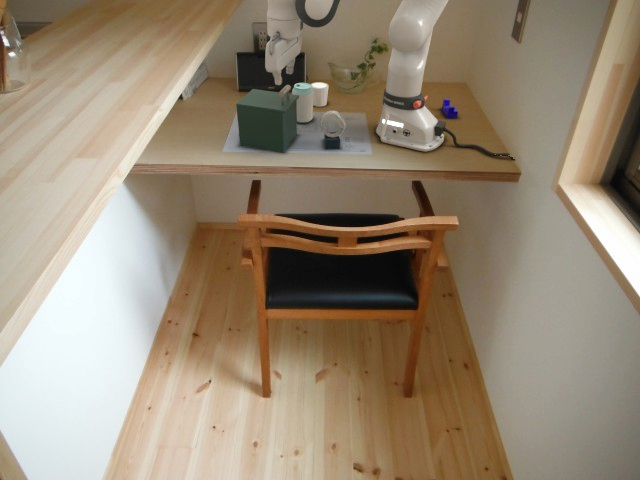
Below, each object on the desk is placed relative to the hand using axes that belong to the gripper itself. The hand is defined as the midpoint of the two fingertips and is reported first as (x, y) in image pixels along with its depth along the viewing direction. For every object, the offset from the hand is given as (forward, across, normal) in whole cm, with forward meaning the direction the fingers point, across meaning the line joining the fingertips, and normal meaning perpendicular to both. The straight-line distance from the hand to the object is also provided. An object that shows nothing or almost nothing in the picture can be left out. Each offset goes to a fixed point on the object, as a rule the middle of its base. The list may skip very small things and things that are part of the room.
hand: (284, 78), depth 134 cm
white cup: (+21, +34, -1) cm, 40 cm away
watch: (+21, +4, -14) cm, 25 cm away
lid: (+8, 0, +5) cm, 9 cm away
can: (+21, +19, 0) cm, 28 cm away
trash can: (+21, 0, +6) cm, 21 cm away
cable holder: (+20, +41, -48) cm, 67 cm away
